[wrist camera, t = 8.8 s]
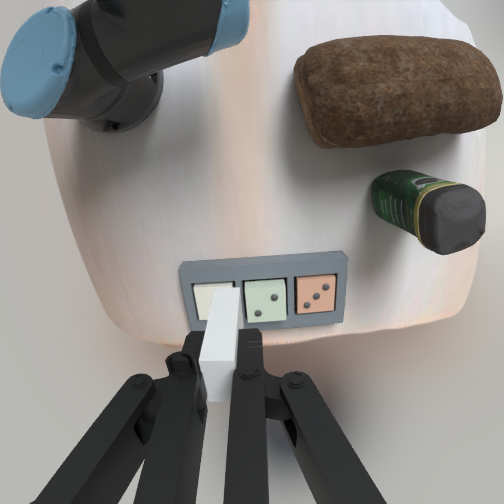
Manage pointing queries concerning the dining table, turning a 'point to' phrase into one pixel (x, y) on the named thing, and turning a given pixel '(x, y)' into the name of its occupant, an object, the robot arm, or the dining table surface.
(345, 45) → the bread
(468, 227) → the coffee jar
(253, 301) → the button two
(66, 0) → the dining table surface
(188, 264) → the console
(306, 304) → the button three
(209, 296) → the button one
